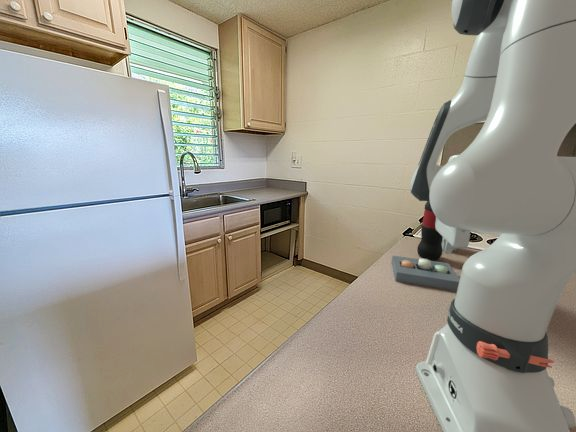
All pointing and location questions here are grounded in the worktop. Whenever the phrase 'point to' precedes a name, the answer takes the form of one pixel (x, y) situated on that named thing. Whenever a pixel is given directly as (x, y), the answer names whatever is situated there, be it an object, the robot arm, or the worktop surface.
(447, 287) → the panel
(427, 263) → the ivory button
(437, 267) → the sage button
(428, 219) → the cola bottle
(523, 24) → the robot arm
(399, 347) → the worktop surface
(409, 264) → the terracotta button
